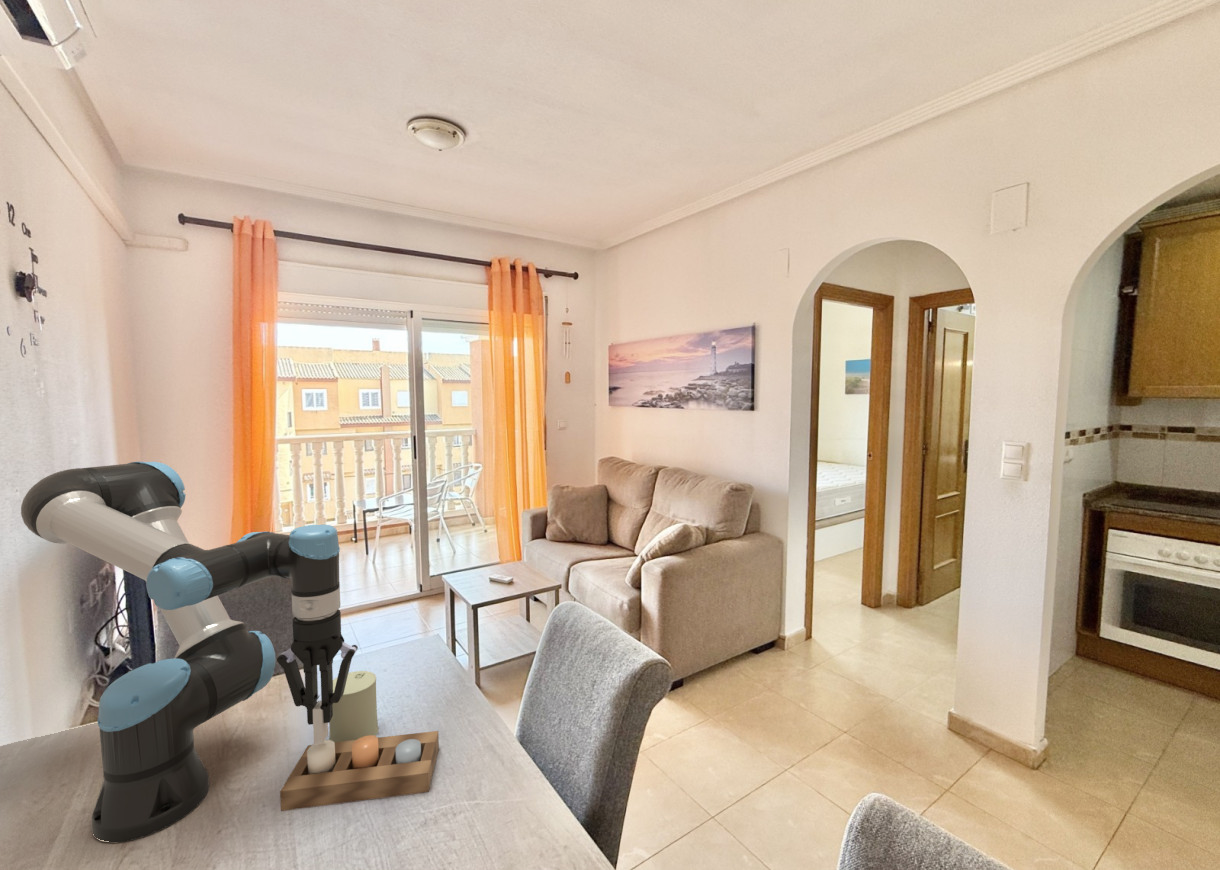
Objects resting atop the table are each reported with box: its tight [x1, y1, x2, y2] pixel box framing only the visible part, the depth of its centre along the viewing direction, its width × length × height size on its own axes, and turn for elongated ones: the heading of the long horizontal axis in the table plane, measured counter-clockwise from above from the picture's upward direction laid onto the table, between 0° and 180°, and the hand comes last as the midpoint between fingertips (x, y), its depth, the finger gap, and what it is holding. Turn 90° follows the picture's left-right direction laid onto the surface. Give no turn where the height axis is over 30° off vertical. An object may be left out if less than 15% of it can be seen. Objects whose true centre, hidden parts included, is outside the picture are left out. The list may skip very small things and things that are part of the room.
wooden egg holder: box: [279, 730, 440, 812], centre depth 97 cm, size 24×12×4 cm, turn 100°
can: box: [328, 670, 379, 742], centre depth 108 cm, size 9×9×12 cm
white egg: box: [307, 739, 336, 775], centre depth 95 cm, size 4×4×5 cm
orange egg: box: [352, 735, 379, 769], centre depth 97 cm, size 4×4×5 cm
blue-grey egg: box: [396, 739, 421, 764], centre depth 98 cm, size 4×4×5 cm
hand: (321, 738), depth 95 cm, fingers closed
